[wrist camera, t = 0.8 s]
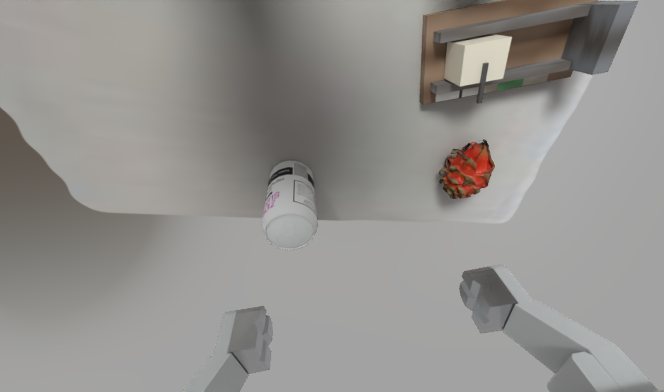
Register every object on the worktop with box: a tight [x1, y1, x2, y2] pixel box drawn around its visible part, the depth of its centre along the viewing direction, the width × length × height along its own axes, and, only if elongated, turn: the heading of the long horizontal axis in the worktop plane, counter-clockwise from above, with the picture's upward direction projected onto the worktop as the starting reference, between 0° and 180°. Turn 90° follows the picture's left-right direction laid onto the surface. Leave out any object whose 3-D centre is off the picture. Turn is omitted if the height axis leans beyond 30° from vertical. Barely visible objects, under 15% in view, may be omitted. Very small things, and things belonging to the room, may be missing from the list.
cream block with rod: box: [444, 34, 512, 103], centre depth 38 cm, size 8×6×6 cm
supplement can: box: [262, 161, 318, 250], centre depth 44 cm, size 8×8×15 cm
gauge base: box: [420, 0, 638, 104], centre depth 38 cm, size 12×24×8 cm, turn 99°
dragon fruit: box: [439, 139, 495, 199], centre depth 49 cm, size 8×8×12 cm
